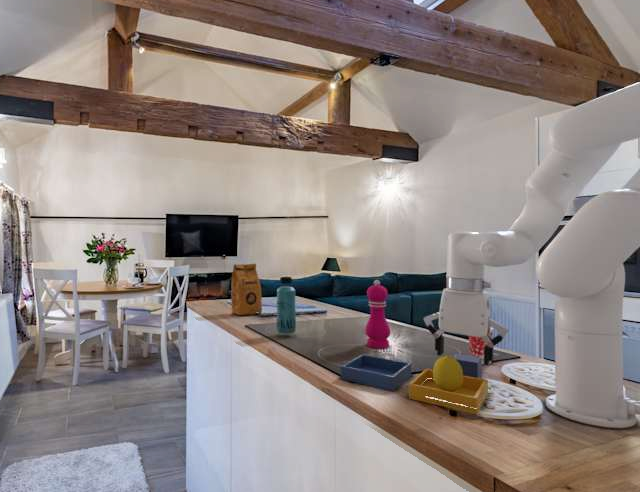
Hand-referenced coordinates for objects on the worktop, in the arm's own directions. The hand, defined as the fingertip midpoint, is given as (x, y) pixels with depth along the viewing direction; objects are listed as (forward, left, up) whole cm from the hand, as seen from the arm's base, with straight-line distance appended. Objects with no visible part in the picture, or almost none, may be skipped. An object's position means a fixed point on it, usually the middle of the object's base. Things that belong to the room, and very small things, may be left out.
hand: (462, 358), depth 94 cm
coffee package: (+90, -32, -5) cm, 96 cm away
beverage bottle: (+55, -10, -5) cm, 56 cm away
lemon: (0, +13, -4) cm, 14 cm away
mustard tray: (0, +13, -5) cm, 14 cm away
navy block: (-1, 0, -5) cm, 5 cm away
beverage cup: (-1, -17, -5) cm, 17 cm away
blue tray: (+16, +11, -5) cm, 20 cm away
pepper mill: (+26, -16, -5) cm, 31 cm away
